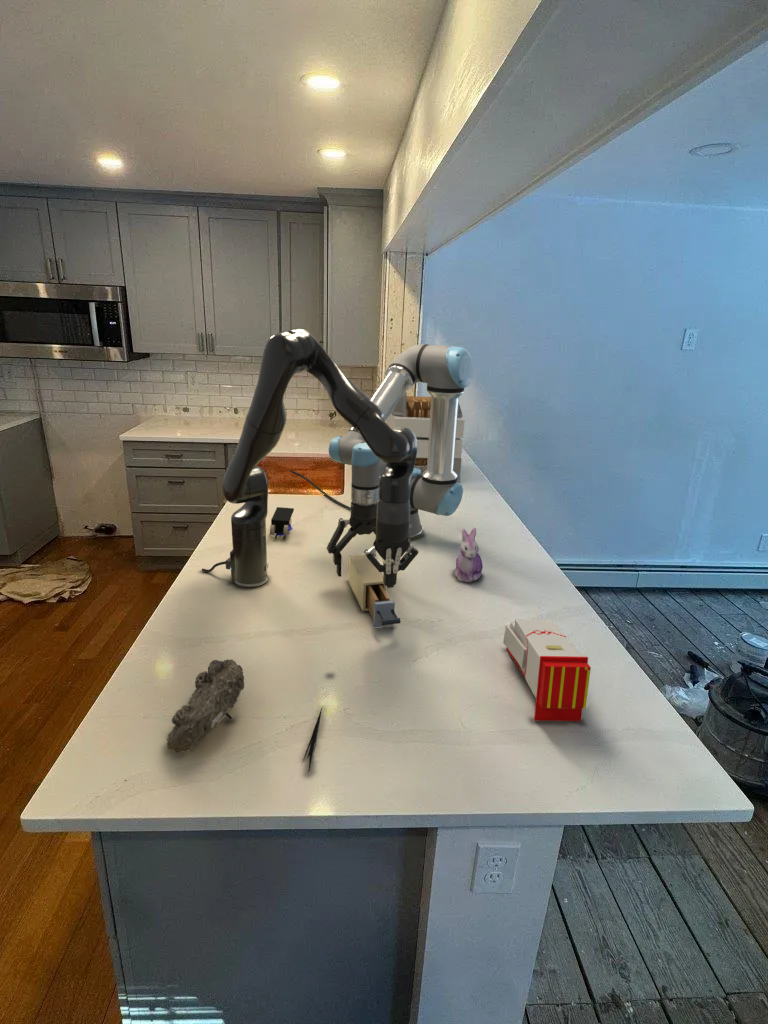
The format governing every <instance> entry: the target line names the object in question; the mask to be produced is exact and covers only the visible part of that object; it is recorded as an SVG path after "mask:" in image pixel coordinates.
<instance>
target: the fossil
mask: <svg viewBox="0 0 768 1024" xmlns="http://www.w3.org/2000/svg"><path fill="white" fill-rule="evenodd" d="M243 670H244V669H243V667H242V665H240V664H237V662H236V661H235V660H234V659H232V658H231V659H227V658H226V659H224V660H223V661H222V660H217V659H212V660H211V661H210V663H209V665H208V666H207V671H201V672H199V673H198V674H197V675H196V676H195V680H194V684H195V685H194V687H195V689H194V690H193V693H192V694H191V697H190V698H189V700H188V704H184V705H182V706H181V707H180V709H177V710H176V711H175V713H174V715H173V716H172V718H171V723H172V724H173V727H172V730H171V731H170V732H168V734H167V738H166V741H167V742H166V745H167V749H168V750H169V751H173V752H174V753H176V754H178V753H182V752H188V751H189V752H192V751H193V750H195V748H196V747H197V746H199V744H200V743H201V742H203V741H204V740H205V739H206V738H207V737H208V736H209V735H210V734H211V733H212V732H214V730H215V729H217V727H218V726H219V724H220V722H221V721H222V720H223V719H224V718H225V716H226V717H227V719H229V720H233V717H232V715H230V714H229V710H230V709H231V708H234V706H235V704H236V703H237V702H238V699H239V697H240V695H241V693H242V691H243V690H245V689H244V688H245V675H244V671H243Z"/></svg>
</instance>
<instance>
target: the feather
mask: <svg viewBox="0 0 768 1024" xmlns="http://www.w3.org/2000/svg"><path fill="white" fill-rule="evenodd" d="M329 675H330V676H331V675H332V674H331V673H330V674H329ZM322 710H323V707H321V708H320V710H319V713H318V716H317V719H316V723H315V725H314V728H313V731H312V733H311V737H310V739H309V742H308V745H307V748H306V751H305V754H304V757H303V760H302V763H301V767H302V765H303V763H304V761H305V758H308V759H309V760H308V762H307V763H308V764H307V766H308V771H310V770H311V766H312V765H311V764H312V760H313V757H315V756H314V755H315V751H316V749H315V746H317V739H318V733H319V729H320V722H321V717H322V712H323V711H322ZM313 754H314V755H313ZM306 755H307V757H306Z"/></svg>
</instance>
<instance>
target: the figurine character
mask: <svg viewBox="0 0 768 1024" xmlns="http://www.w3.org/2000/svg"><path fill="white" fill-rule="evenodd" d="M294 511H295V508H294V507H292V508H291V507H280V506H276V508H275V511H274V513H273V515H272V517H271V519H270V526H269V535H270V536H274V537H273V539H274V540H277V539H278V537H282V540H286V537H287V536H288V535H289V534H290V531H292V530H293V527H292V515H293V514H294Z"/></svg>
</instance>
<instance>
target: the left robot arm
mask: <svg viewBox="0 0 768 1024" xmlns="http://www.w3.org/2000/svg"><path fill="white" fill-rule="evenodd" d="M261 359H262V360H261V364H260V368H259V374H258V377H257V378H258V379H257V383H256V386H255V389H254V393H253V396H252V400H251V403H250V406H249V409H248V411H247V414H246V416H245V420H244V424H243V427H242V431H241V434H240V437H239V440H238V443H237V445H236V447H235V448H236V449H235V450H234V453H233V456H232V458H231V459H230V462H229V464H228V466H227V468H226V470H225V472H224V475H223V478H222V484H221V485H222V487H221V488H222V493H223V496H224V498H225V500H226V501H227V502H229V503H231V504H234V505H235V504H236V505H237V504H238V505H239V504H243V505H242V506H241V507H240V508H239V509H237V510H235V511H234V512H233V513H232V514H231V517H230V523H231V524H230V525H231V541H232V544H231V545H232V549H231V551H229V557H228V558H227V559H225V560H224V561H220V562H216V563H215V564H213V565H212V566H211V568H209V569H207V568H203V567H202V569H201V572H205V573H211V572H213V571H214V569H215V568H217V567H218V566H222V565H225V569H226V570H230V579H231V580H230V581H231V584H235V585H236V586H238V587H242V588H256V587H261V586H262V585H264V584H266V583H267V582H268V580H269V575H268V569H269V563H268V553H267V552H268V551H267V516H268V512H269V510H268V507H269V499H268V498H269V482H268V476H267V474H266V472H265V470H264V469H263V468H262V467H261V466H259V463H260V462H261V461H263V460H264V459H265V458H266V457H267V456H268V455H269V454H270V453H271V452H272V451H273V449H275V448H276V446H277V445H278V444H279V442H280V441H281V437H282V434H283V432H284V429H285V427H286V423H287V411H286V407H285V402H284V397H285V393H286V391H287V388H288V386H289V383H290V381H291V380H292V378H293V377H294V376H295V375H296V374H299V373H302V372H305V371H306V372H307V373H309V374H310V375H312V376H313V377H314V378H316V379H317V380H318V381H319V382H320V383H321V384H322V386H323V387H324V389H325V391H326V393H327V395H328V397H329V400H330V402H331V404H332V406H333V408H334V409H335V411H336V412H337V414H338V415H339V416H340V417H341V418H342V419H343V420H344V421H345V422H346V423H347V424H348V425H349V426H350V427H351V426H352V427H353V428H354V429H355V430H356V431H357V432H359V433H360V434H361V436H362V437H363V439H364V441H365V442H366V444H367V445H368V446H369V448H370V449H371V450H372V452H373V453H374V454H375V455H376V456H377V457H378V458H379V459H380V460H382V461H383V462H385V463H386V468H385V470H384V472H383V473H382V474H381V476H380V480H379V498H378V504H377V512H376V517H377V518H376V535H375V540H374V541H373V544H372V545H373V546H372V547H370V548H369V549H365V550H364V551H363V553H364V555H366V557H367V558H368V559H369V560H370V562H371V563H372V564H373V565H374V566H375V567H376V569H377V570H378V571H379V572H381V573H382V575H383V582H384V584H385V586H386V589H392V588H394V587H395V586H396V585H397V582H398V581H397V580H398V579H397V578H398V572H400V571H402V572H403V571H405V570H406V569H407V568H408V567H409V565H410V564H411V563H412V562H413V560H414V559H415V558H416V557H417V556H418V554H419V550H418V549H417V548H416V546H414V545H411V542H410V540H409V539H408V538H409V525H410V490H411V477H412V473H413V470H414V468H415V461H416V456H417V448H418V446H417V439H416V436H415V434H414V433H413V432H412V431H411V430H410V429H408V428H405V427H399V428H396V429H393V430H392V429H391V428H390V427H389V426H388V425H387V423H386V421H384V413H383V411H382V410H381V409H380V408H379V407H378V406H377V405H376V404H375V403H374V402H372V401H371V400H370V399H371V398H369V397H368V396H367V395H366V394H365V393H364V392H363V391H362V390H361V389H359V388H358V387H357V386H356V385H355V383H353V382H352V381H351V379H350V378H348V376H347V375H346V374H345V373H344V371H343V370H342V369H341V368H340V366H339V365H338V364H337V362H335V360H334V359H333V357H331V356H330V355H329V353H328V352H327V350H326V349H325V348H324V346H322V344H321V343H320V341H319V340H318V339H317V338H316V337H315V336H314V335H313V334H312V333H311V332H309V331H308V330H307V329H304V328H292V329H288V330H284V331H281V332H277V333H275V334H273V335H271V337H269V339H267V342H266V344H265V347H264V348H263V354H262V357H261ZM376 552H377V553H378V555H379V556H380V558H381V560H382V564H381V563H380V562H379V560H378V559H377V558H376V557H377V553H376Z"/></svg>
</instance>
